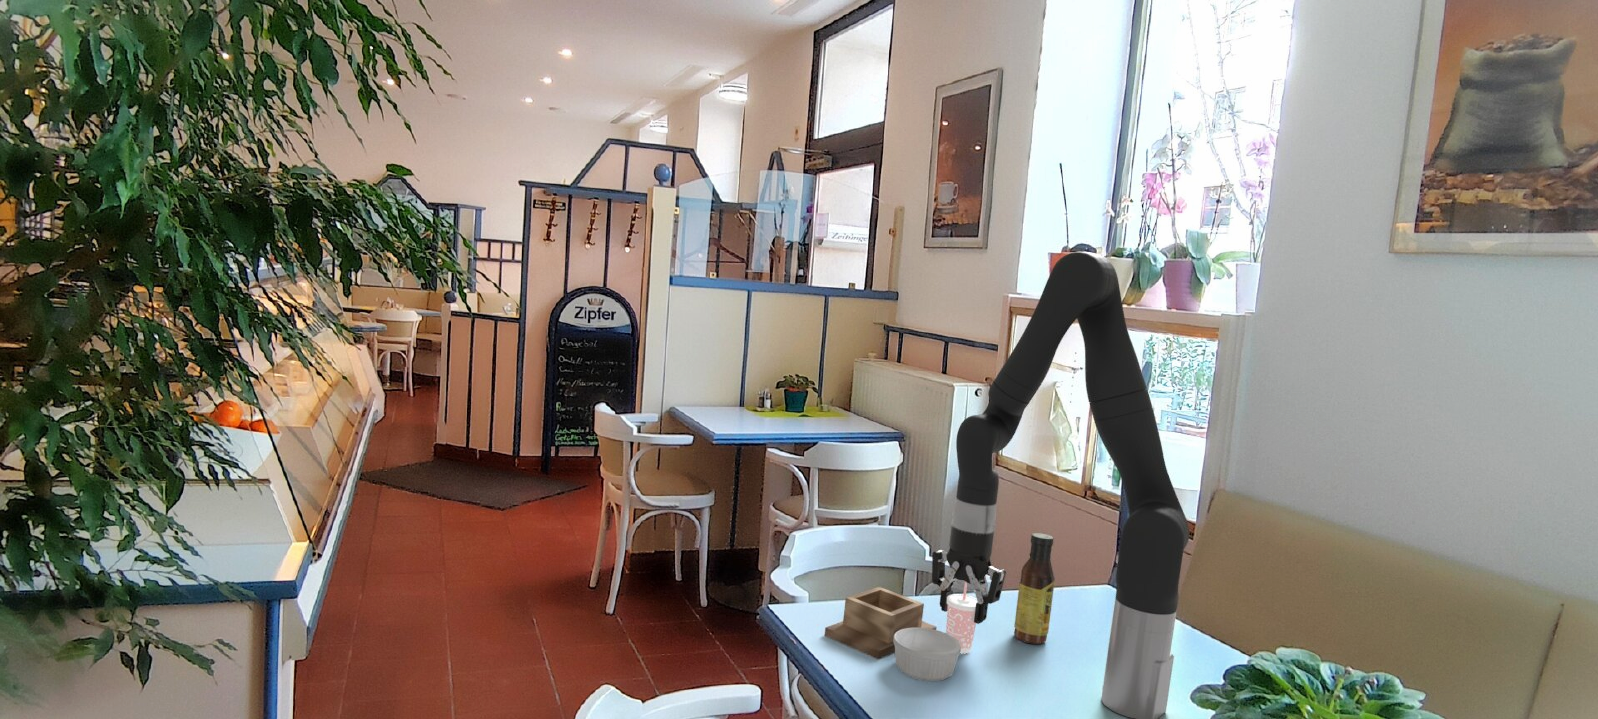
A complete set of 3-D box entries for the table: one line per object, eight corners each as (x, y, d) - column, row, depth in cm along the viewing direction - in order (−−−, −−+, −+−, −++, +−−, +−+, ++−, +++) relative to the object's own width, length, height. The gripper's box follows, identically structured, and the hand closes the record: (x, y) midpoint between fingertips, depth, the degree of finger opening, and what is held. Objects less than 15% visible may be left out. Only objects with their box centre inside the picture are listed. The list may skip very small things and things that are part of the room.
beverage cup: (934, 642, 165) (943, 567, 164) (962, 639, 168) (971, 566, 166) (953, 657, 160) (963, 579, 158) (982, 654, 162) (991, 578, 161)
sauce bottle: (1047, 648, 168) (1062, 543, 166) (1013, 642, 169) (1026, 538, 167) (1045, 634, 174) (1059, 534, 172) (1012, 629, 176) (1025, 529, 174)
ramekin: (879, 657, 157) (882, 627, 156) (936, 653, 161) (939, 624, 160) (909, 687, 146) (913, 656, 146) (969, 682, 150) (973, 652, 150)
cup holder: (935, 634, 169) (939, 600, 168) (878, 659, 155) (882, 622, 155) (883, 613, 177) (887, 581, 176) (824, 635, 163) (828, 600, 163)
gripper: (1019, 532, 160) (1008, 624, 161) (949, 512, 169) (939, 599, 171) (998, 539, 154) (986, 634, 156) (927, 517, 163) (916, 608, 165)
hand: (961, 615), depth 163 cm, fingers closed on beverage cup, 6 cm apart
